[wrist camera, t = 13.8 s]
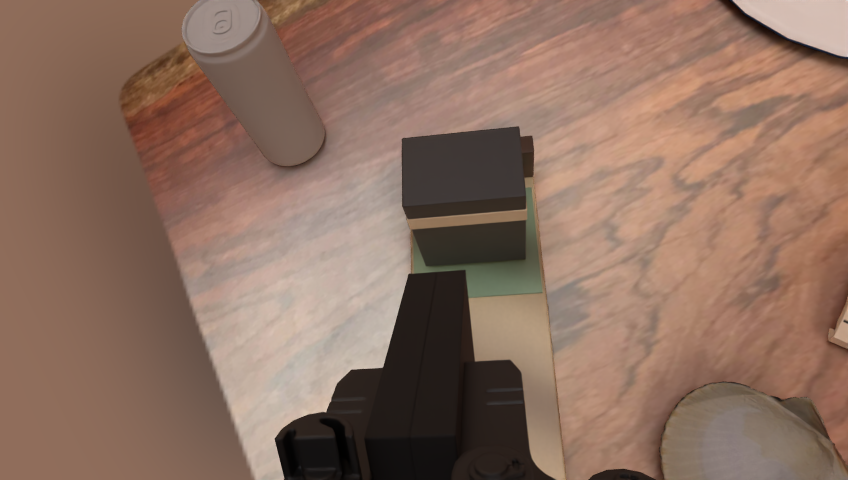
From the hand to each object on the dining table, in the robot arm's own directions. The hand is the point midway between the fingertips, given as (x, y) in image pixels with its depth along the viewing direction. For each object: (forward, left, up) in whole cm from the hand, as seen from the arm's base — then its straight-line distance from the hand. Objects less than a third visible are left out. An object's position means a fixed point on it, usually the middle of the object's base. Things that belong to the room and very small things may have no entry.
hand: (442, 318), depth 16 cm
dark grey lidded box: (+2, +11, -18) cm, 22 cm away
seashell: (+12, -5, -20) cm, 24 cm away
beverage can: (-9, +22, -20) cm, 31 cm away
